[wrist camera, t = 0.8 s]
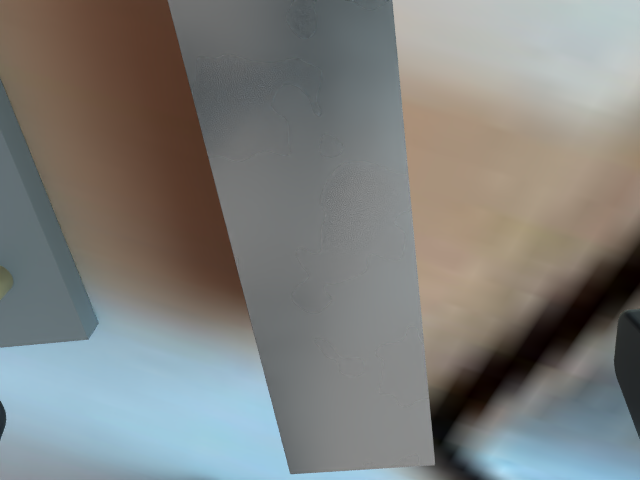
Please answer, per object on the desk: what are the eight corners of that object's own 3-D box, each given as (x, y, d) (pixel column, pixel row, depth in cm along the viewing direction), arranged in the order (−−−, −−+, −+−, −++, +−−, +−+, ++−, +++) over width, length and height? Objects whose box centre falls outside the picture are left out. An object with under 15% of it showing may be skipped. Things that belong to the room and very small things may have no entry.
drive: (413, 313, 22) (435, 465, 16) (308, 322, 23) (290, 473, 17) (360, -217, 15) (364, -306, 9) (205, -185, 15) (103, -248, 9)
